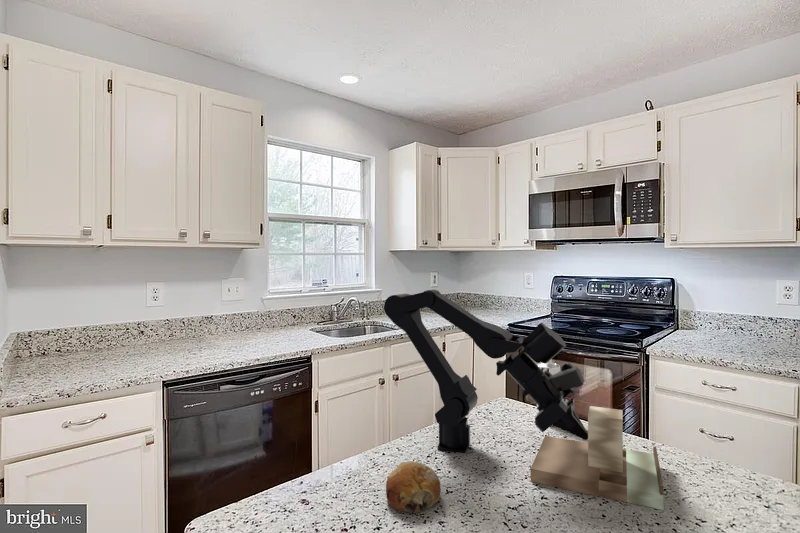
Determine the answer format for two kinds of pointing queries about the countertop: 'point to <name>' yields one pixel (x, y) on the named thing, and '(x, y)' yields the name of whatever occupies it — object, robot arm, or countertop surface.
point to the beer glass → (549, 367)
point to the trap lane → (599, 473)
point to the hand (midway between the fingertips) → (587, 438)
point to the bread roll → (412, 487)
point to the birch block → (605, 438)
